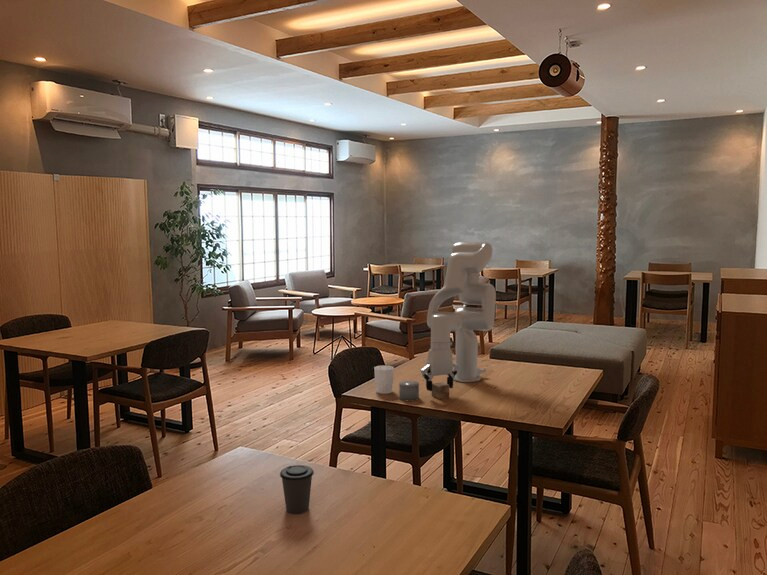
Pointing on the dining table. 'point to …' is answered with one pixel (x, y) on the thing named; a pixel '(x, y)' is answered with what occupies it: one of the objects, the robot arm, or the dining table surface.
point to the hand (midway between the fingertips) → (439, 388)
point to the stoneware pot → (409, 390)
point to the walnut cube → (440, 390)
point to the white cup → (384, 379)
